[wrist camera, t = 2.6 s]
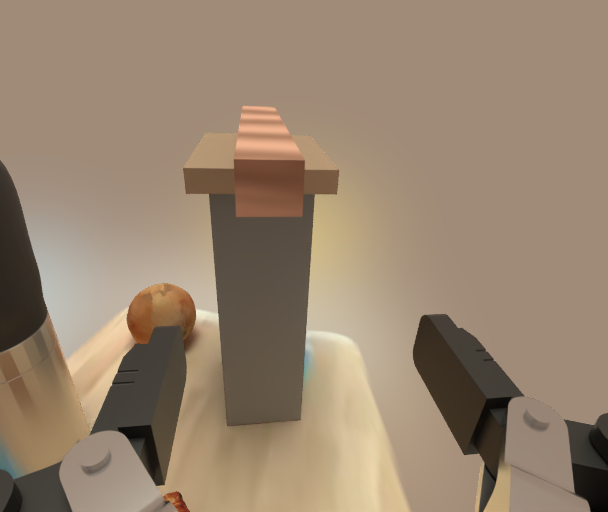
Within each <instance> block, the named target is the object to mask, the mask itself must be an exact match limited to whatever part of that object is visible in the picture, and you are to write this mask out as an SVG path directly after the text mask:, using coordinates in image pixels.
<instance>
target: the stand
mask: <svg viewBox="0 0 608 512" xmlns="http://www.w3.org/2000/svg"><path fill="white" fill-rule="evenodd" d="M237 137H238V134H231V133H230V134H229V133H206V134H205V135H204V137H203V138H202V140H201V141H200V143H199V144H198V146H197V148H196V149H195V151H194V152H193V154H192V155H191V157H190V158H189V160H188V161H187V163H186V164H185V166H184V168H183V171H184V179H185V189H186V194H209V198H210V212H211V224H212V238H213V251H214V263H215V276H216V289H217V301H218V314H219V327H220V340H221V353H222V365H223V378H224V391H225V404H226V416H227V426H233V425H245V424H257V423H269V422H281V421H293V420H300V418H301V402H302V387H303V371H304V355H305V339H306V323H307V307H308V291H309V275H310V260H311V244H312V228H313V212H314V197H315V194H337V188H338V177H339V169H338V168H337V167H336V166H335V165H334V163H333V162H332V161H331V160H330V159H329V158H328V156H327V155H326V154H325V153H324V152H323V150H322V149H321V148H320V147H319V146H318V145H317V143H316V142H315V141H314V140H313V139H312V138H311V136H305V135H304V136H303V135H291V137H292V139H293V140H294V142H295V144H296V145H297V147H298V149H299V151H300V152H301V154H302V156H303V158H304V159H305V174H304V194H303V215H302V217H236V201H235V178H234V154H235V149H236V143H237Z"/></svg>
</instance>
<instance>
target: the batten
mask: <svg viewBox="0 0 608 512" xmlns="http://www.w3.org/2000/svg"><path fill="white" fill-rule="evenodd" d="M304 174H305V159H304V158H303V156H302V154H301V152H300V151H299V149H298V147H297V145H296V144H295V142H294V140H293V139H292V137H291V135H290V133H289V132H288V130H287V128H286V126H285V125H284V123H283V122H282V120H281V118H280V116H279V114H278V113H277V111H276V109H275V108H274V107H258V106H243V108H242V114H241V120H240V126H239V132H238V137H237V143H236V149H235V154H234V178H235V201H236V217H302V215H303V194H304Z"/></svg>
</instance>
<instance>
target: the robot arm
mask: <svg viewBox="0 0 608 512" xmlns="http://www.w3.org/2000/svg"><path fill="white" fill-rule="evenodd" d="M413 360H414V364H415V366H416V368H417V370H418V372H419V374H420V375H421V377H422V379H423V381H424V383H425V385H426V386H427V388H428V390H429V392H430V394H431V396H432V397H433V399H434V401H435V403H436V405H437V407H438V408H439V410H440V412H441V414H442V416H443V417H444V419H445V421H446V422H447V425H448V427H449V428H450V430H451V432H452V434H453V435H454V437H455V439H456V441H457V443H458V445H459V446H460V448H461V450H462V452H463V454H464V455H469V454H478V453H479V454H480V456H481V457H482V459H483V462H482V464H481V468H480V475H479V483H478V490H477V498H476V506H475V512H608V413H606V414H603V415H601V416H600V417H599V418H598V420H597V421H596V423H595V425H589V424H584V423H579V422H574V421H569V420H564V419H563V418H562V417H561V416H560V415H559V414H558V413H557V412H556V411H555V410H554V409H552V408H551V407H550V406H548V405H547V404H545V403H543V402H541V401H539V400H536V399H534V398H530V397H525V396H524V395H523V394H522V393H521V391H520V390H519V389H518V388H517V387H516V385H515V384H514V383H513V382H512V381H511V379H510V378H509V377H508V376H507V375H506V373H505V372H504V371H503V370H502V369H501V367H500V366H499V365H498V364H497V363H496V362H495V361H494V360H493V358H492V357H491V355H490V354H489V353H488V352H486V350H485V348H484V347H483V346H482V344H481V343H480V342H479V341H478V340H477V339H476V338H475V337H474V336H473V335H471V334H470V333H468V332H467V331H465V330H464V329H463V328H457V327H456V325H455V324H454V323H453V321H452V320H451V319H450V318H449V317H448V315H446V314H434V315H424V316H422V317H421V320H420V323H419V328H418V332H417V335H416V340H415V344H414V348H413ZM186 369H187V367H186V357H185V350H184V342H183V335H182V329H181V326H180V325H177V326H156V327H154V329H153V332H152V334H151V337H150V340H149V342H148V344H136V345H135V346H134V347H133V348H132V349H131V350H130V351H129V352H128V353H127V354H126V355H125V356H124V357H123V359H122V362H121V364H120V366H119V369H118V373H117V374H116V376H115V378H114V380H113V382H112V386H111V387H110V389H109V392H108V394H107V396H106V399H105V401H104V403H103V406H102V408H101V410H100V412H99V415H98V417H97V419H96V422H95V424H94V426H93V429H92V431H91V433H90V435H89V428H88V425H87V422H86V419H85V416H84V413H83V410H82V407H81V404H80V401H79V398H78V395H77V393H76V390H75V387H74V384H73V381H72V378H71V375H70V372H69V370H68V367H67V364H66V361H65V358H64V356H63V352H62V350H61V347H60V344H59V341H58V338H57V335H56V333H55V330H54V327H53V324H52V322H51V319H50V316H49V313H48V311H47V307H46V304H45V302H44V298H43V293H42V286H41V279H40V274H39V269H38V266H37V263H36V259H35V256H34V253H33V250H32V246H31V242H30V239H29V235H28V231H27V227H26V223H25V219H24V215H23V211H22V207H21V204H20V201H19V197H18V194H17V191H16V188H15V186H14V183H13V181H12V178H11V176H10V175H9V173H8V171H7V169H6V167H5V166H4V164H3V163H2V162H1V161H0V512H178V511H177V509H176V508H175V506H174V505H173V504H172V503H171V502H170V501H165V499H164V498H163V497H162V495H161V493H160V492H159V490H158V488H157V487H156V486H160V485H165V480H166V475H167V470H168V466H169V461H170V456H171V451H172V446H173V441H174V436H175V431H176V426H177V421H178V416H179V411H180V407H181V402H182V397H183V392H184V387H185V382H186Z"/></svg>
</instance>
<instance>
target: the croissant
mask: <svg viewBox="0 0 608 512" xmlns="http://www.w3.org/2000/svg"><path fill="white" fill-rule="evenodd" d="M163 498H164V499H165V501H170V502H171V503H172V504H173V505H174V506H175V508H176V509H177V511H178V512H190V511H189V510H188V508H187V506H186V504H185V502H184V501H183V499H182V495H181V493H179V492H177V491H176V492H173V493H169V494H166V495H165V496H164V497H163Z"/></svg>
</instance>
